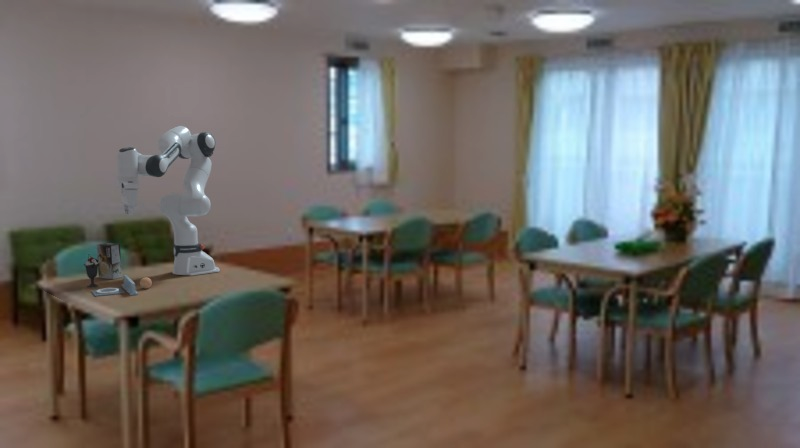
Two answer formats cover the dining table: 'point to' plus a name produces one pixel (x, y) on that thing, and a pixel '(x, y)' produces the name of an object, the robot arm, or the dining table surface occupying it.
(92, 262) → the sundae
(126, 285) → the low wall
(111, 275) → the coffee box
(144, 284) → the ball
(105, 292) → the mat
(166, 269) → the dining table surface
